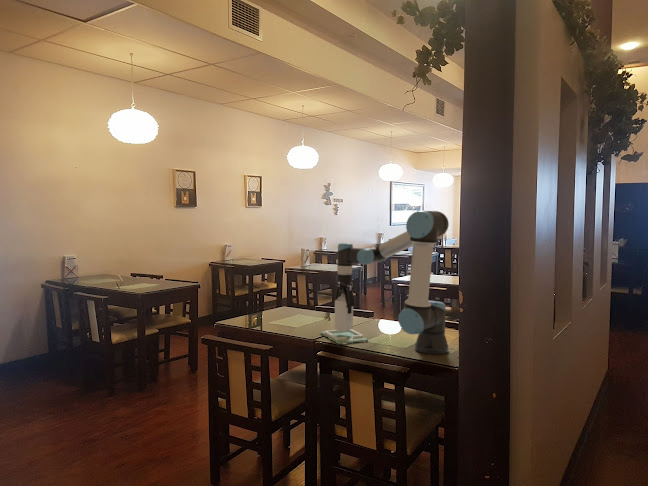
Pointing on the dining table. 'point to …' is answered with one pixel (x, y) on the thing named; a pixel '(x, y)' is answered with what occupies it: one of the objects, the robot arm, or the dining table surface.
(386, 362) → the dining table surface
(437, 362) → the dining table surface
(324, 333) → the shallow tray
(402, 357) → the dining table surface
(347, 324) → the milk carton
